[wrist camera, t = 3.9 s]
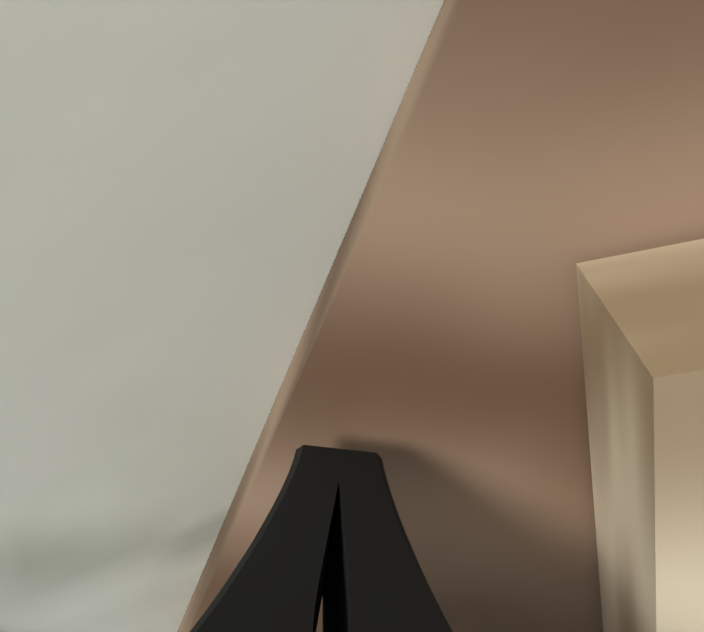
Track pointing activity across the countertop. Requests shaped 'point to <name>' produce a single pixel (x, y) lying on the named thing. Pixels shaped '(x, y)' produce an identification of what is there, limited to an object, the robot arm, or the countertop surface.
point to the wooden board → (491, 296)
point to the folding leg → (647, 433)
